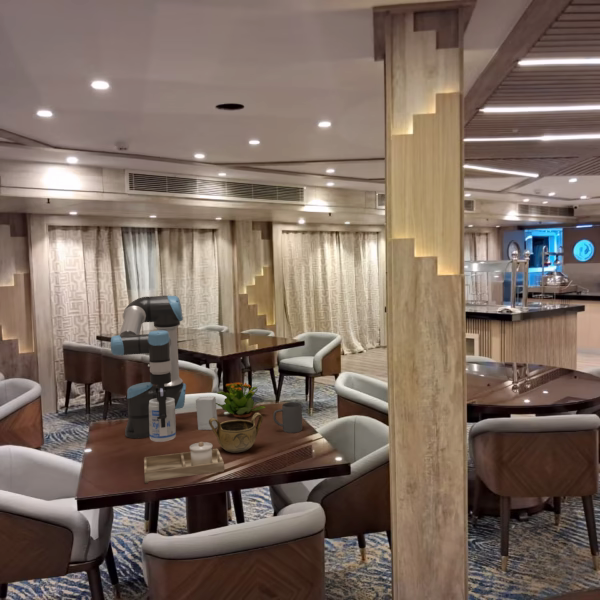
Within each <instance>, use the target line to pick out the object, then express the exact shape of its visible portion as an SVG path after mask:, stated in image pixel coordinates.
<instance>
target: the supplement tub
mask: <svg viewBox="0 0 600 600" xmlns="http://www.w3.org/2000/svg"><path fill="white" fill-rule="evenodd" d="M161 415H165V414H161ZM166 415H167V436H160V431H159V419H157V417H159V402H158V401H157V398H155V399H151V400H150V401H149V431H150V437H149V439H150V440H151V441H152V442H156V443H163V442H164V443H165V442H168V441H171V440H174V439H175V438H176V436H177V428H176V426H177V425H176V424H177V423H176V421H177V420H176V409H175V400H174V398H170V397H166Z"/></svg>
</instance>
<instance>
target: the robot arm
mask: <svg viewBox="0 0 600 600" xmlns="http://www.w3.org/2000/svg"><path fill="white" fill-rule="evenodd" d="M122 318H123V322H122V325H121V328H120V331H119V334H118V335H113V336H111V338H110V352H111V354H112V355H114V356H129V355H142V354H143V355H145V354H148V355H149V357H148V359H149V360H148V361H149V364H147V367H148V368H149V372H150V374H149V380H150V381H146V382H141V383H136V384H133V385H131V386H129V387H128V388H127V391H126V393H127V395H126V396H127V397H126V400H127V414H128V415H127V417H128V419H127V421H126V422H127V423H126V427H125V429H124V435H125V436H124V437H126V438H130V439H142V438H143V439H144V438H145V439H146V438H150V431H149V401H150V400H151V399H155V398H157V401H158V402H159V417H157V419H159V431H160V436H167V415H166V397H170V398H174V400H175V410H179V409H183V408H184V407H185V403H186V391H187V390H186V389H187V384H186V383H185V382H184V380H183V379H182V378H181V377H180V367H179V366H180V365H179V349H178V346H179V345H178V332H177V331H178V328H179V326H180V325H181V322H182V321H183V320H184V319H183V318H184V317H183V310H182V305H181V301H180V298H179V297H178V296H177V295H169V294H168V295H156V296H155V295H154V296H141V297H139V298H137V299H134V300H133V301H131V302H130V303H129V304H128V305H127V306H126V307H125V309H124V310H123V314H122ZM144 323H153V327H154V328H155V329H156V330H151V331H149V332H148V333H147V334H146V333H144V334H141V329H142V325H143V324H144ZM161 414H165V415H161Z"/></svg>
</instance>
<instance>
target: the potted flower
mask: <svg viewBox="0 0 600 600" xmlns="http://www.w3.org/2000/svg"><path fill="white" fill-rule="evenodd" d="M225 387H226V390H227V391H228V392H225V391H223V390H220V391H217V395H221V396H224V397H225V398H224V400H223V402H224V403H223V404H221V403H218V402H216V406H219V407H220V408H222V410H223V411H225V412H227V413H229V414H231V415H232V416H233V417H234V418H239V419H240V418H247V417H250V416H252V414H253V412H257V411H260V410H263V409H266V408H267V406H266V407H265V406H261V405H260V406H256V405H257V404H258V402H256V403H255V398H253V397H254V395H255V393H256V392H257V391H258V387H257V386H253V387H252V386H251V385H250V384H248V383H247V382H244V384H243V382H238V381H237V382H233V383H232V382H230V383H226V384H225ZM242 389H243V390H242ZM248 389H249V391H247V390H248ZM246 392H247V393H246ZM255 406H256V407H255Z"/></svg>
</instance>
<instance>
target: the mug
mask: <svg viewBox="0 0 600 600" xmlns="http://www.w3.org/2000/svg"><path fill="white" fill-rule="evenodd" d="M302 407H303V406H302V403H300V402H295V401H294V402H293V401H292V402H291V401H290V402H285V403H283V404H282V406H281V409H280V408H279V409H276V410H274V412H273V415H272V417H273V418H272V419H273V421H274V423H275V424H276V425H277V426H280V427H282V430H283V432H284V433H291V434H296V433H300V432H301V431H303V408H302ZM277 413H282V414H281V415H282V416H281V418H282V423H281V422H279V421H278V420H277V417H276V416H277Z"/></svg>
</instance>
